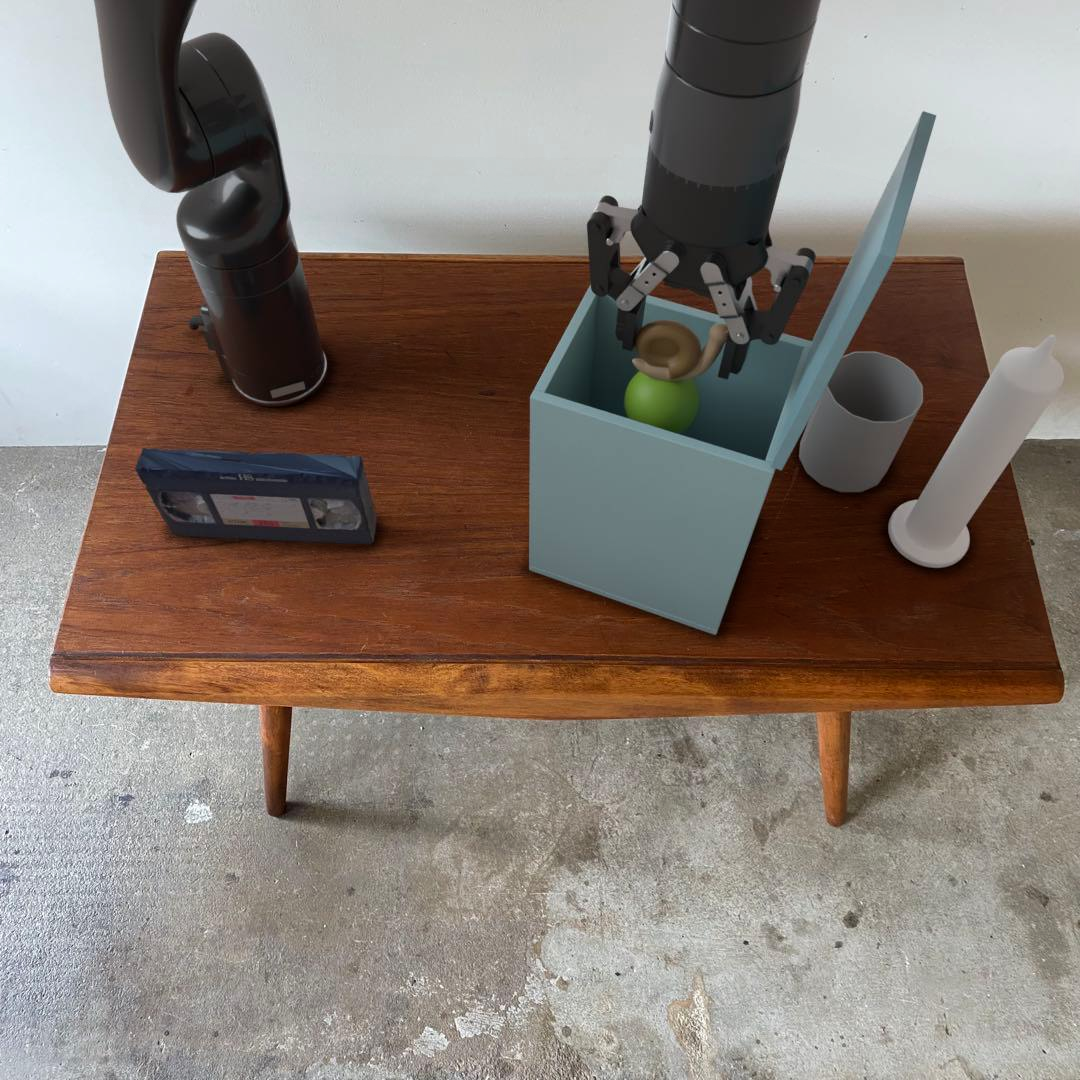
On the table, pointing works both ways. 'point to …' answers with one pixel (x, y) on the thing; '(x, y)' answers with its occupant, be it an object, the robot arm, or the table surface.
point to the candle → (977, 456)
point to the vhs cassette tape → (260, 495)
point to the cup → (860, 421)
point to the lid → (856, 288)
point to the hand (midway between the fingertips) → (678, 355)
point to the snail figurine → (670, 373)
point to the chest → (652, 468)
